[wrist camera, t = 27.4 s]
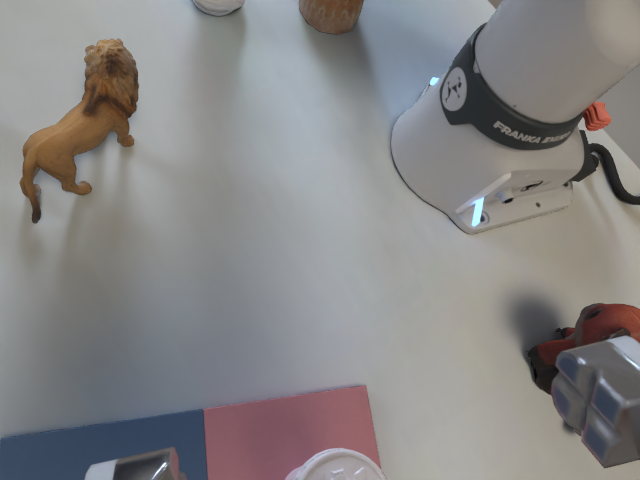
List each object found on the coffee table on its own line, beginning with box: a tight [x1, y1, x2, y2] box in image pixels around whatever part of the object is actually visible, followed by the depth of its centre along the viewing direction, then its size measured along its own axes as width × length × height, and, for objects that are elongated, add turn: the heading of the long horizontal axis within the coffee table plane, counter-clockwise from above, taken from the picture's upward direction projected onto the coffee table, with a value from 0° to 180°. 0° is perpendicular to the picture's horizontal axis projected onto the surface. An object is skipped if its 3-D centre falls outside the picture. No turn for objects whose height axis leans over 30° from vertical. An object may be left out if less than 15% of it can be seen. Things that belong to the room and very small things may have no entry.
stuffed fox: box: [526, 303, 640, 436], centre depth 41 cm, size 8×11×12 cm
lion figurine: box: [20, 39, 139, 223], centre depth 39 cm, size 15×5×9 cm, turn 159°
